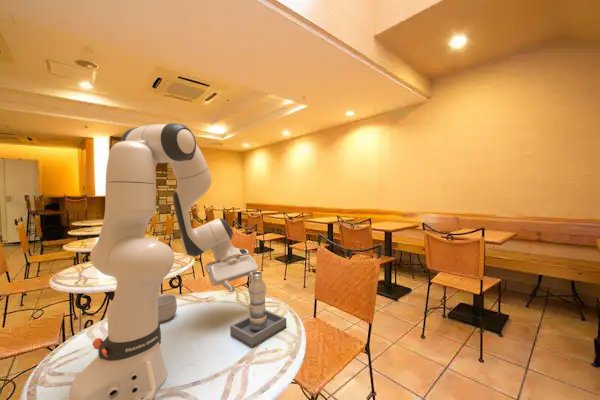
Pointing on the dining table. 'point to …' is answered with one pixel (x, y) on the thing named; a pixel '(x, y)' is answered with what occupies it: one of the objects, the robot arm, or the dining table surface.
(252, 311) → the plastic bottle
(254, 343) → the tray
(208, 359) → the dining table surface
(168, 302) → the teacup
